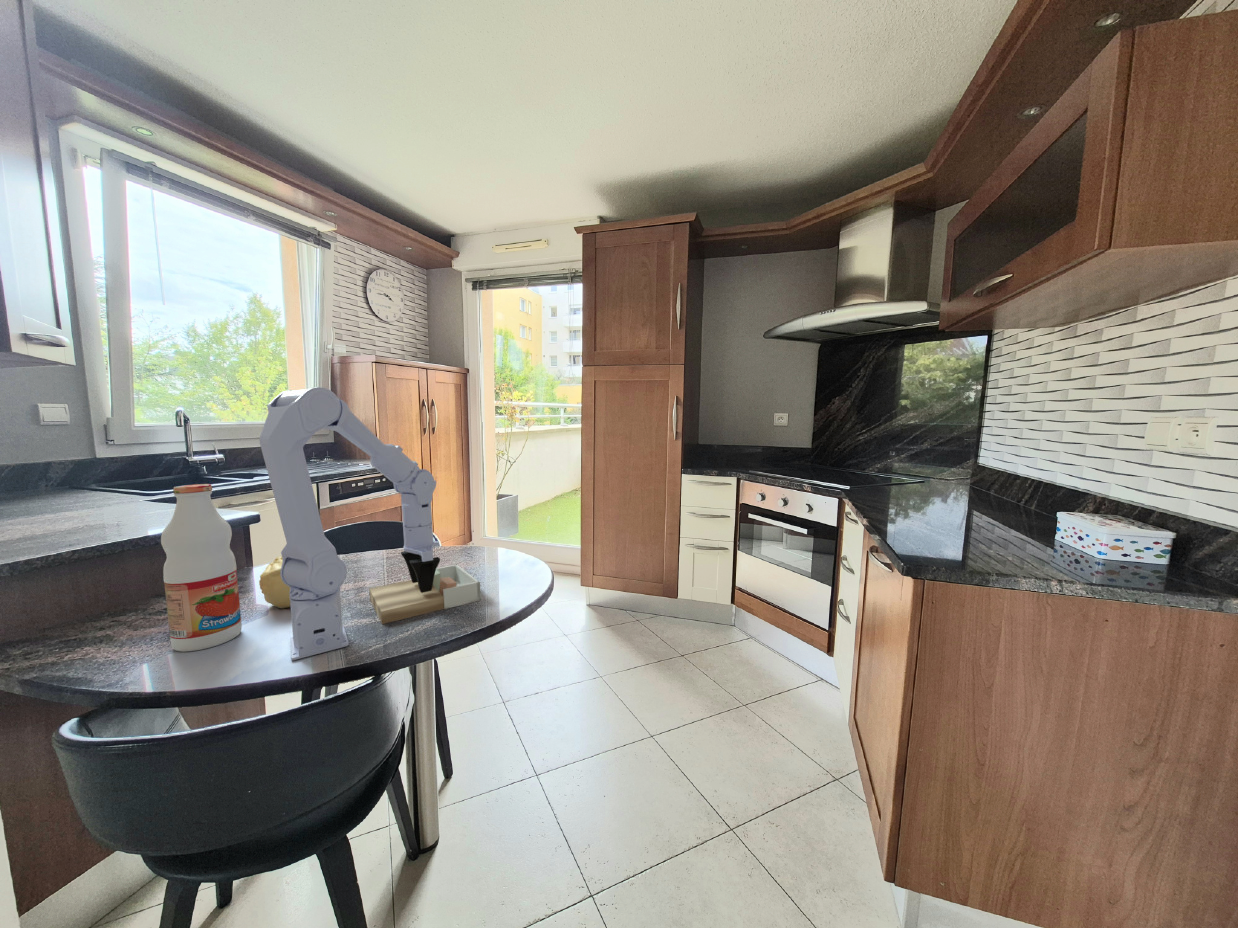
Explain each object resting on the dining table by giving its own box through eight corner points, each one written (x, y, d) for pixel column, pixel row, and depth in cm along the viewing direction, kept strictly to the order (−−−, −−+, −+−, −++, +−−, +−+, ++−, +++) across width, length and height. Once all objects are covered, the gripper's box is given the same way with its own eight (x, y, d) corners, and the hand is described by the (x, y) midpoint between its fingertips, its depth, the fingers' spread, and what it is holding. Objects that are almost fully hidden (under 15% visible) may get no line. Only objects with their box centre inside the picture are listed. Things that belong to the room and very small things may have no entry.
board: (444, 608, 92) (443, 596, 92) (381, 624, 85) (381, 611, 85) (425, 587, 105) (424, 577, 105) (369, 599, 98) (369, 588, 98)
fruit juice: (199, 630, 84) (184, 483, 82) (254, 626, 86) (241, 481, 83) (155, 655, 75) (137, 490, 73) (217, 650, 76) (201, 487, 74)
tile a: (445, 602, 93) (455, 601, 95) (446, 583, 93) (456, 582, 95) (439, 596, 97) (448, 594, 99) (440, 577, 97) (449, 576, 99)
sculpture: (270, 598, 100) (265, 551, 99) (332, 589, 105) (329, 544, 104) (253, 617, 90) (248, 565, 89) (324, 606, 95) (320, 556, 94)
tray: (480, 600, 96) (479, 581, 96) (444, 609, 92) (443, 590, 91) (457, 580, 109) (456, 564, 109) (425, 587, 105) (424, 570, 105)
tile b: (435, 592, 100) (444, 589, 101) (431, 576, 99) (440, 573, 100) (429, 586, 104) (438, 583, 105) (425, 570, 103) (434, 567, 104)
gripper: (446, 527, 92) (450, 591, 93) (428, 517, 104) (432, 574, 105) (409, 532, 88) (414, 599, 89) (395, 521, 100) (399, 580, 101)
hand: (421, 586), depth 97 cm, fingers open, 7 cm apart
